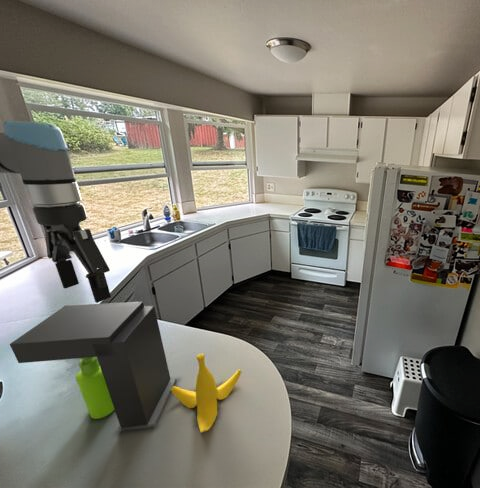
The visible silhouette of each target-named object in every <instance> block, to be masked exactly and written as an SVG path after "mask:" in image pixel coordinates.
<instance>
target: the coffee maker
mask: <svg viewBox="0 0 480 488" xmlns="http://www.w3.org/2000/svg"><path fill="white" fill-rule="evenodd" d="M162 339H163V338H162V335H161V330H160V326H159V321H158V317H157V313H156V308H155V305H146V306H145V305H144V301H128V302H108V303H88V304H87V303H86V304H70V305H69V304H68V305H64V306H62V307H61V308H60V309H58V310H57V311H56V312H54V313H52V314H51V315H50V316H48V317H47V318H45V319H44V320H42V321H41V322H39V323H38V324H36V325H35V326H33V327H32V328H31V329H29V330H28V331H26V332H25V333H24V334H22V335H21V336H19V337H18V338H16V339H15V340H14V341H12V342H10V343H9V345H10V348H11V350H12V353H13V354H14V356H15V359H16V361H17V363H18V364H27V363H39V362H50V361H52V362H53V361H63V360H75V359H82V358H89V357H97V359H98V362H99V365H100V368H101V371H102V374H103V377H104V380H105V383H106V385H107V388H108V391H109V394H110V397H111V400H112V403H113V406H114V409H115V410H114V412H115V415H116V418H117V420H118V424H119V427H118V431H119V432H125V431H134V430H141V429H148V428H150V429H151V428H155V427H156V425H157V423H158V421H159V419H160V416H161V414H162V412H163V410H164V408H165V406H166V404H167V402H168V400H169V397H170V395H171V393H172V391H171V388H172V387H173V386H176V383H177V378H176V377H172V378H171V374H170V370H169V366H168V362H167V361H168V360H167V357H166V353H165V348H164V343H163V340H162Z"/></svg>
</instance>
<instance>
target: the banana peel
mask: <svg viewBox="0 0 480 488" xmlns="http://www.w3.org/2000/svg"><path fill="white" fill-rule="evenodd" d="M196 360H197V363H198V372H197V376H196V381H195V391H194V390H188V389H185V388H181V387H178V386H176V385H174V386H173V387H172V388H171V393H172V394H173V395H174V396H175V398H176V399H178V400H179V401H180V403H181V404H183V405H184V406H186V408H188V409H193V408H195V407H197V408H196V409H197V410H196V411H197V412H196V414H197V415H196V416H197V417H196V421H197V425H198V428H199V431H200V433H204V432H207V431H208V430H210V429H211V428H212V426H213V424H214V423H215V421H216V419H217V416H218V401H219V400H224V399H226V398H228V397H229V395H230V393H231V392H232V391H233V389H234V388H235V386H236V384H237V383H238V381H239V379H240V376H241V374H242V370H241V369H237V371H236V372H235V373H234V374H232V376H231V377H230V378H228V379H227V380H226V381H225V382H223V383H222V384H221V385H219V386H218V387H217V383H216V380H215V378H214V375H213V373H212V372H211V371H210V370H209V368H208V367H207V365H206V362H205V354H204V353H199V354H197V355H196Z"/></svg>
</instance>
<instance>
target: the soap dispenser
mask: <svg viewBox="0 0 480 488" xmlns="http://www.w3.org/2000/svg"><path fill="white" fill-rule="evenodd" d="M78 368H79V369H80V371H78V372H77V374H76V376H75V380H76V383H77V385H78V388H79V391H80V393H81V395H82V396H81V397H82V398H83V401H84V404H85V407H86V408H87V411H88V414H89V417H90V418H91V419H93V420H98V419H102V418H105V417H107V416H109V415H111V413H113V412H115V409H114V406H113V403H112V400H111V397H110V394H109V391H108V388H107V385H106V383H105V380H104V377H103V374H102V371H101V368H100V365H99V362H98V359H97V357H89V358H81V359H80V360H79V362H78Z"/></svg>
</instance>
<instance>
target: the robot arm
mask: <svg viewBox="0 0 480 488" xmlns="http://www.w3.org/2000/svg"><path fill="white" fill-rule="evenodd" d="M2 127H3V132H0V174H18V175H19V174H20V177H21V182H22V184H23V187H24V191H25V193H26V196H27V200H28V201H29V203H30V204H32V205H33V207H32V212H33V214H34V217H35V220H36V223H37V224H39V225H41V226H42V227H43V230H44V237H45V245H46V253H47V254H46V256H47V258H48V259H51V261H52V262H53V263H54V265H55V269H56V271H57V273H58V276H59V278H60V282H61V285H62V288H63V289H68V288H72V287H75V286H77V285H80V281H79V279H78V275H77V273H76V270H75V266H74V264H73V261H72V259H73V257H72V255H71V254H70V253H71V252H73V253H74V255H75V256H76V258H77V259H78V261H79V262H80V263H81V265H82V267H84V269H85V270H86V272H87V274H86V275H85V278H86V279H87V280H88V284H89V286H90V287H89V288H90V290H91V293H92V297H93V299H94V302H95V304H99V303H100V302H103V301H105V300H107V299H110V298H112V295H111V292H110V288H109V284H108V281H107V278H106V275H105V274H106V273H108V272H111V271H110V270H111V269H110V267H109V266H108V264H107V262H106V260H105V258H104V256H103V254H102V252H101V250H100V249H99V247H98V245H97V243H96V242H95V241H96V240H94V237H93V235H92V231H91V229H90V228H84V229H83V228H81V225H80V223H81V222H84V221H86V220H87V218H88V216H87V212H86V209H85V205H84V204H83V203H82V202H80V201H82V196H81V193H80V191H81V190H82V187H81V186H80V185H78V182H77V179H76V175H75V171H74V168H73V165H72V160H71V155H70V151H69V147H68V145H67V143H66V139H65V137H64V134H63V132H62V130H61V129H60V127H58V126H57V125H54V124H52V123H44V122H33V121H22V120H21V121H20V120H6V121H4V122H2Z"/></svg>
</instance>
